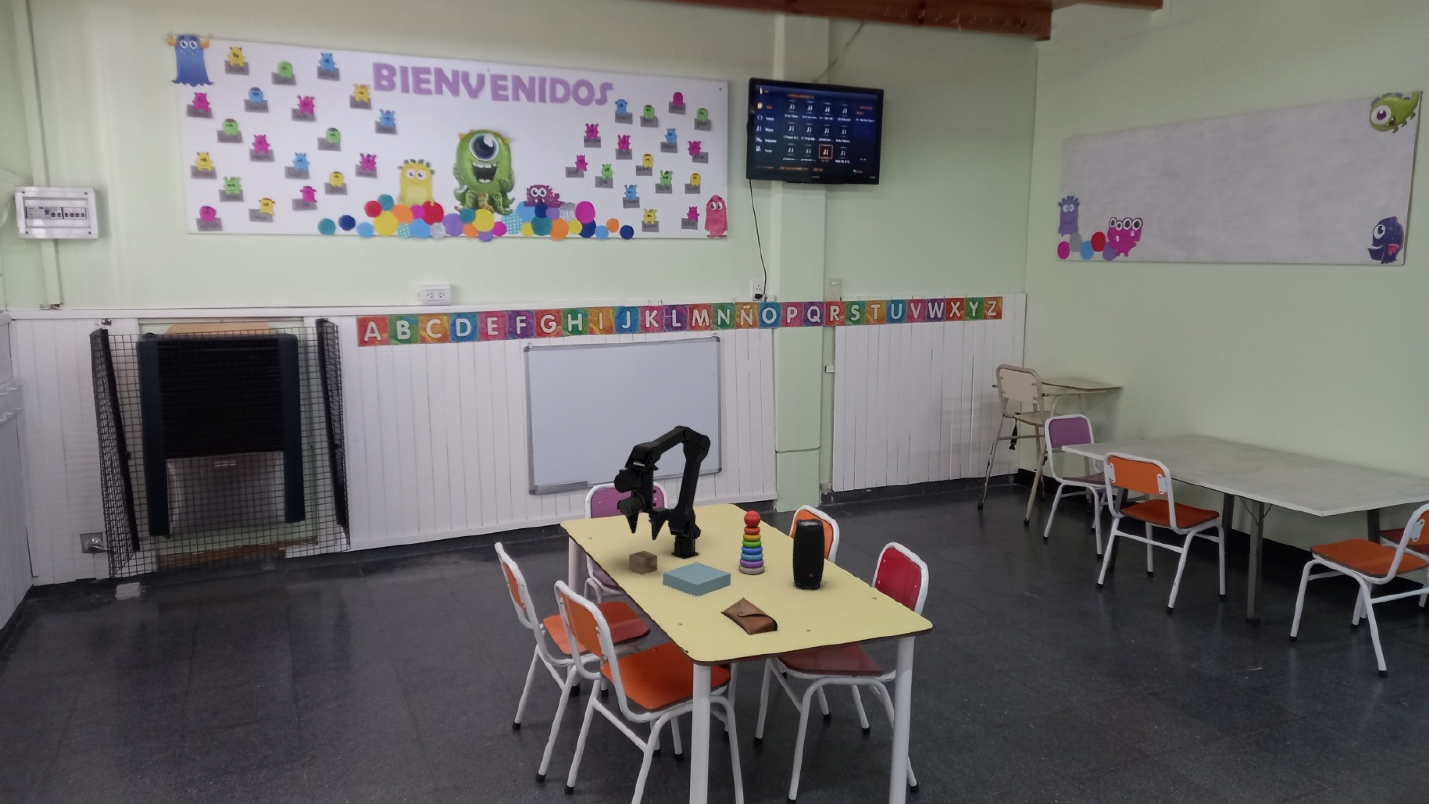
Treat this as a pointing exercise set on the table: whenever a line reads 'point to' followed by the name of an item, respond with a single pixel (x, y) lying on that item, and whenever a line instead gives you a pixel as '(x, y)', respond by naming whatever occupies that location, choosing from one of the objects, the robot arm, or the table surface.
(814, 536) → the portable speaker
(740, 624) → the sunglasses case
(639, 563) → the walnut block
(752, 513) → the stacking toy
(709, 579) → the teal base box
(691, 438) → the robot arm
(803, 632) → the table surface
